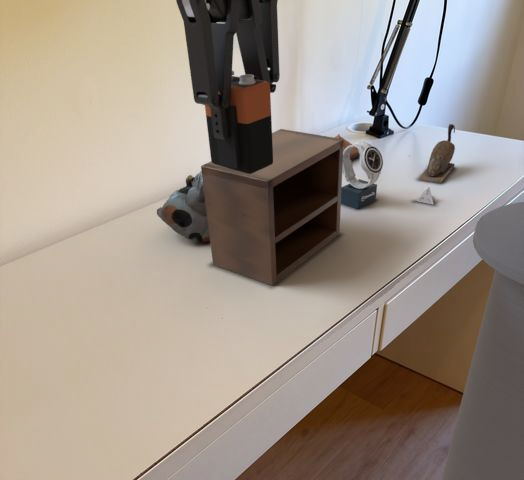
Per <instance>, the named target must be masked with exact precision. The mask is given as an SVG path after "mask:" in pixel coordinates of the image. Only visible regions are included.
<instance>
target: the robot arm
mask: <svg viewBox="0 0 524 480" xmlns="http://www.w3.org/2000/svg"><path fill="white" fill-rule="evenodd" d="M175 1H176V5H177V8H178V11H179V14H180V15H181V18H182V21H183V28H184V35H185V42H186V51H187V57H188V64H189V73H190V81H191V87H192V95H193V101H194V102H195V104H198V105H202V106H205V105H206V106H209V108H210V110H211V118H212V124H213V125H212V126H213V134H214V137H215V138H217V147H218V156H219V164H220V165H223V166H228V167H233V168H239V167H241V155H240V143H239V131H238V120H237V108H236V106H233V105H230V102H231V82H232V76H233V75H232V70H233V61H234V59H233V57H234V37H235V34H236V38H237V43H238V44H237V45H238V48H239V52H240V57H241V61H242V66H243V70H244V71H243V72H244V75H246V74H251V75H254V79H256V80H262V81H267V82H269V84H270V94H271V93H272V94H274V93H275V92H276V89H277V84H276V83H278V82H279V81H280V77H281V76H280V50H279V22H278V21H279V20H278V1H279V0H175ZM218 91H219V92H220V94H218Z"/></svg>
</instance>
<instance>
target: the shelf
mask: <svg viewBox="0 0 524 480" xmlns="http://www.w3.org/2000/svg"><path fill="white" fill-rule="evenodd" d="M344 139H345V138H344ZM344 139H339V138H334V137H333V136H327V135H320V134H314V133H309V132H303V131H296V130H291V129H284V128H280V129H277V130H276V131H274V132H273V131H272V145H273V164H271V165H269V166H268V167H265V168H263V169H261V170H259V171H256V172H254V173H252V174H247V173H243V172H240V171H236V170H233V169H229V168H226V167H223V166H219V165H216V164H213V163H212V161H211V160H210V161H209V162H206V163H204V164H202V165H200V169H201V170H200V172H201V171H202V179H203V187H204V195H205V203H206V211H207V219H208V227H209V235H210V241H209V242H210V250H211V251H210V252H211V258H212V265H213V266H215V267H218V268H221V269H224V270H227V271H229V272H232V273H235V274H238V275H240V276H244V277H247V278H249V279H252V280H255V281H258V282H261V283H263V284H266V285H269V286H274V285H275V284H276V283H278V282H279V281H281V280H282V279H283V278H285V277H286V276H287V275H288V274H290V273H291V272H292V271H294V270H295V269H297V268H298V267H299V266H300V265H301V264H303V263H304V262H305V261H307V260H308V259H309V258H310V257H312V256H313V255H315V254H316V253H317V252H319V251H320V250H322V248H324V247H325V246H327V245H328V244H329V243H330V242H332V241H333V240H334V239H335V238H337V237H338V236H340V233H341V232H340V231H341V230H340V229H341V210H342V209H341V208H342V207H341V206H342V204H341V189H342V187H343V171H342V166H343V145H344Z"/></svg>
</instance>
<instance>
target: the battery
mask: <svg viewBox="0 0 524 480" xmlns="http://www.w3.org/2000/svg"><path fill="white" fill-rule="evenodd" d="M218 94H220V92H219V91H218ZM271 98H272V97H271V93H270V84H269V82H267V81H262V80H256V79H254V75H251V74H246V75H245V74H241V75H239V76H235V71H234V70H233V69H232V82H231V102H230V105H233V106H236V108H237V120H238V131H239V143H240V155H241V167H239V168H233V167H228V166H223V165H220V164H219V156H218V147H217V138H215V137H214V134H213V126H212V125H213V124H212V118H211V110H210V108H209V106H206V105H204V109H205V119H206V127H207V135H208V145H209V146H208V147H209V153H210V162H211V161H212V163H213V164H216V165H219V166H223V167H226V168H229V169H233V170H236V171H240V172H243V173H247V174H252V173H254V172H256V171H259V170H261V169H263V168H265V167H268V166H269V165H271V164H273V145H272V133H273V125H272V124H273V123H272V101H271V100H272V99H271Z"/></svg>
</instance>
